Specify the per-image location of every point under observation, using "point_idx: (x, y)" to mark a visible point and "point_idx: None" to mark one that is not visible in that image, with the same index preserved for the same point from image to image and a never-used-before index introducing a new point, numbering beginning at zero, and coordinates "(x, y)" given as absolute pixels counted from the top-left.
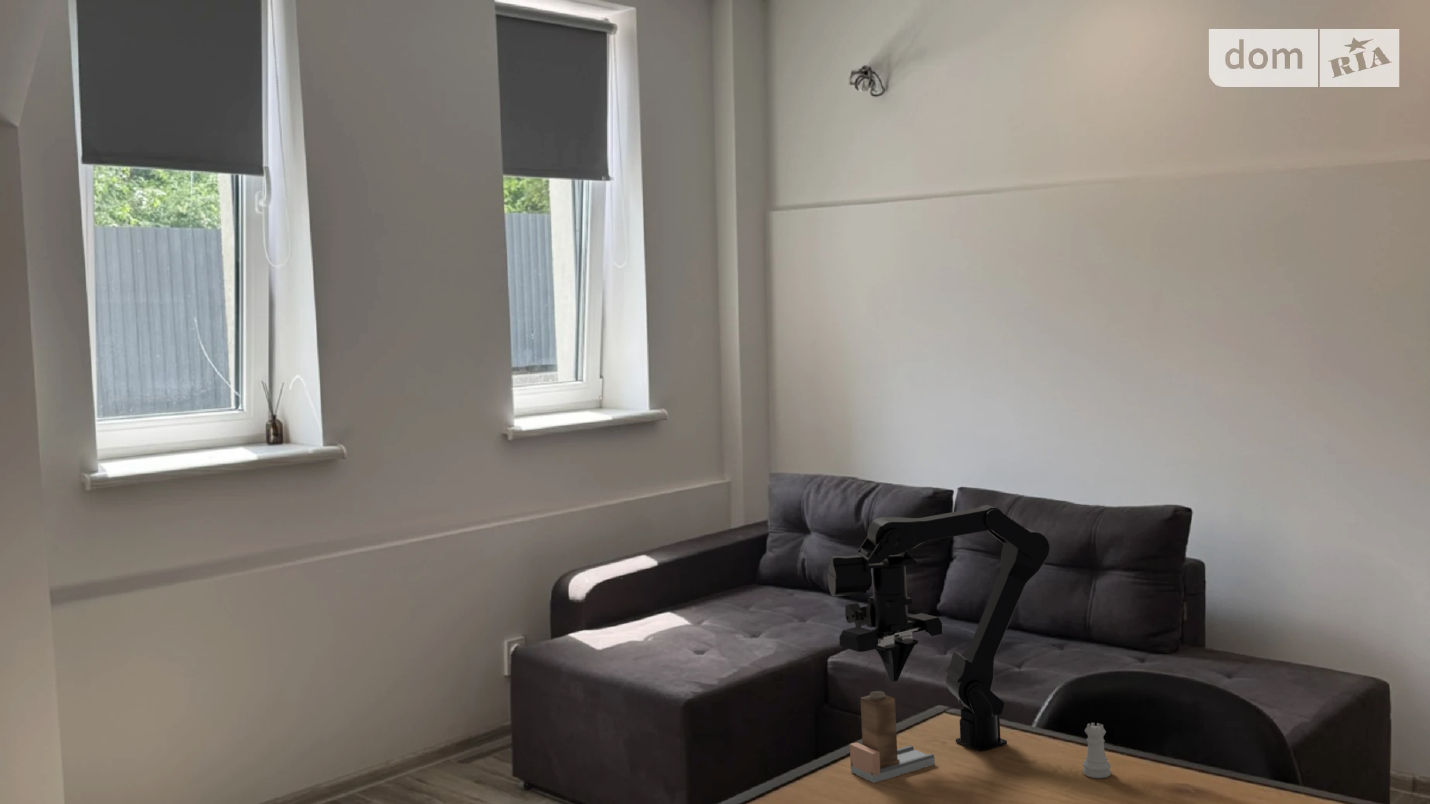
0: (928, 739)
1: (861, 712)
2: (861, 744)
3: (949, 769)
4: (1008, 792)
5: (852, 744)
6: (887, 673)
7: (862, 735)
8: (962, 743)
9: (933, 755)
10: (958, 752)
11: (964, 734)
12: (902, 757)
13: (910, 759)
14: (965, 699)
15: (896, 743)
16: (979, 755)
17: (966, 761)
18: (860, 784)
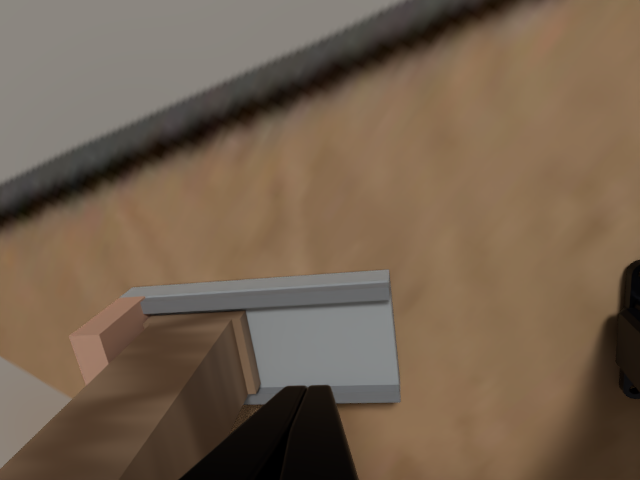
0: (569, 162)
1: (18, 455)
2: (108, 363)
3: (413, 431)
4: None
5: (77, 345)
6: (243, 426)
7: (98, 375)
8: (626, 306)
9: (397, 401)
10: (553, 342)
11: (636, 356)
12: (305, 338)
13: (319, 366)
14: None
15: (225, 437)
16: (591, 403)
17: (509, 416)
18: None
